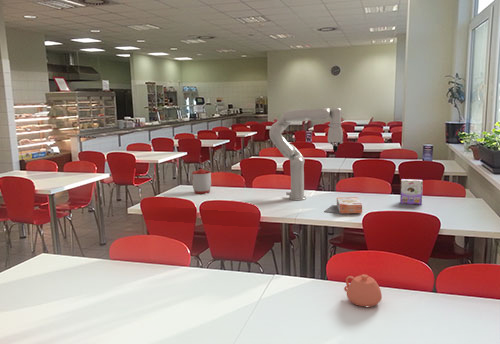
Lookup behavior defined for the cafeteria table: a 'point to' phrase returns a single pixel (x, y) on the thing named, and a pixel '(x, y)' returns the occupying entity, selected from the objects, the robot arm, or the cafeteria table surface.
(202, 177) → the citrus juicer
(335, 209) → the mat
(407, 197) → the candy box
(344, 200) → the cracker box
